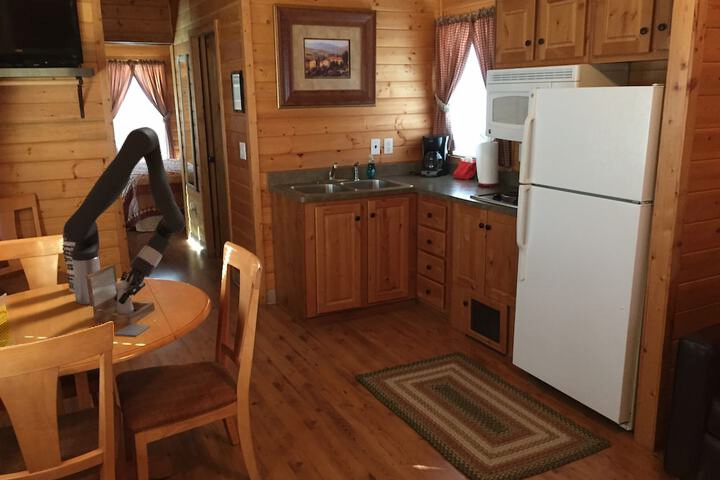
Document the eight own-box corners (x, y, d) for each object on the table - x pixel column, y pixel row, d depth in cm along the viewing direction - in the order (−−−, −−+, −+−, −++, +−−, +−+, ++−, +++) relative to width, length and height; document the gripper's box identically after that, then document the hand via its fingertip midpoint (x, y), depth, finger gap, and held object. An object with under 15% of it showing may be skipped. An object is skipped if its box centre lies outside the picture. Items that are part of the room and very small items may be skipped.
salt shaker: (119, 313, 219) (115, 279, 216) (136, 312, 219) (131, 278, 216) (115, 319, 213) (110, 284, 210) (131, 318, 214) (127, 283, 210)
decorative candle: (95, 289, 246) (86, 229, 240) (70, 293, 241) (61, 232, 235) (90, 283, 254) (82, 225, 247) (66, 287, 249) (57, 228, 242)
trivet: (114, 334, 200) (114, 333, 200) (129, 325, 208) (129, 324, 208) (136, 336, 198) (136, 335, 198) (150, 327, 206) (149, 325, 206)
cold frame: (92, 322, 211) (86, 276, 207) (118, 307, 225) (112, 263, 221) (131, 325, 208) (125, 278, 203) (155, 310, 221) (150, 265, 217)
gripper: (129, 252, 221) (100, 292, 215) (148, 259, 211) (119, 301, 206) (144, 262, 226) (117, 302, 221) (164, 270, 217) (135, 311, 211)
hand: (118, 301), depth 213 cm, fingers closed on salt shaker, 3 cm apart
